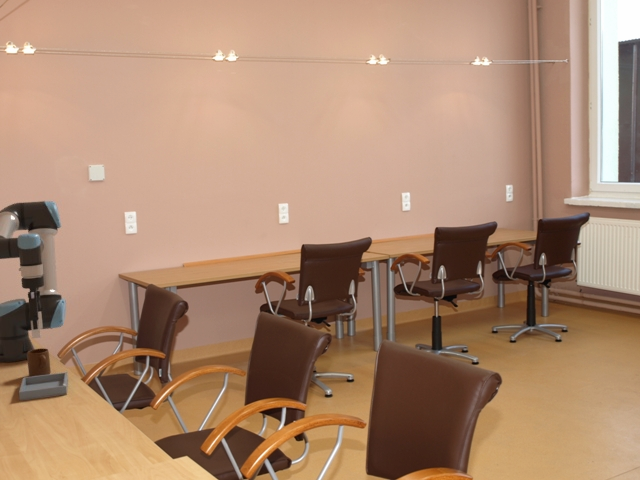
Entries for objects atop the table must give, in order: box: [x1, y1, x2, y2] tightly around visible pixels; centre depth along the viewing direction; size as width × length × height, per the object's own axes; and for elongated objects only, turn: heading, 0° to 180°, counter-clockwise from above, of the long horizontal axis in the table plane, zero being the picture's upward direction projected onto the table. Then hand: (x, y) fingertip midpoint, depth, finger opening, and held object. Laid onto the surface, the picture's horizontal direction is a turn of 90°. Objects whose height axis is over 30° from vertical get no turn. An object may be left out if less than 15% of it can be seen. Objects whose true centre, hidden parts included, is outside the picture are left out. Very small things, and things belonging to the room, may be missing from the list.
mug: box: [26, 348, 52, 377], centre depth 264 cm, size 12×8×9 cm, turn 36°
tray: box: [18, 371, 69, 402], centre depth 249 cm, size 17×15×3 cm
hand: (37, 333), depth 263 cm, fingers open, 13 cm apart
